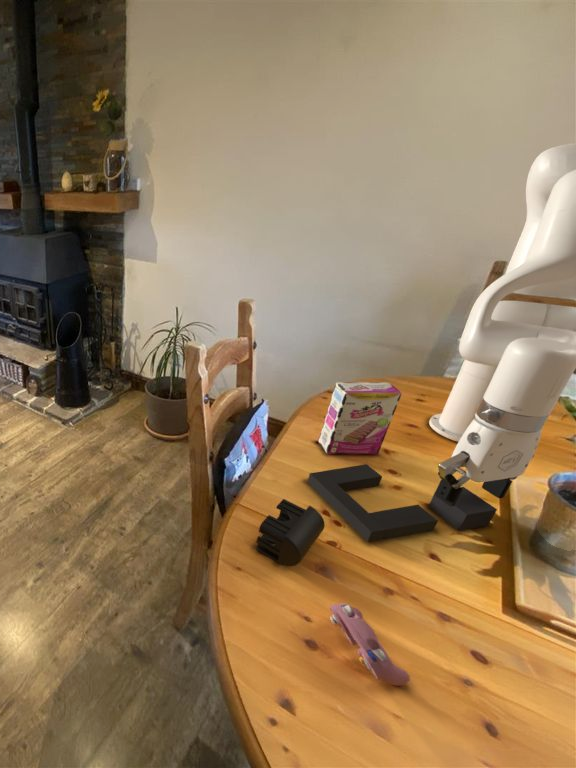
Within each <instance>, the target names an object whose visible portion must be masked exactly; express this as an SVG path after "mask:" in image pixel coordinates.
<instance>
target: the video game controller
mask: <svg viewBox="0 0 576 768" xmlns="http://www.w3.org/2000/svg"><path fill="white" fill-rule="evenodd" d="M328 607H329V610H330V612H331V614H332V616H331V615H330V617H329V619H330V621H331V623H332V625H334V626H335V627H336V626H337V625H338V626H339V627H340V628H341V630H342V632H343V634H344V635H345V637H346V638H347V640H348V641H349V643H350V644H351V645H352V646H355V645H357V646H358V647H359V648H358V650H357V654H358V656H359V658H358V660H359V662H360V663H361V664H362V665H365V667H366V668H367V669H368V670H370V672H371V673H372V674H373V675H374V677H375V678H376V679H377V680H381V681H383V682H384V683H387V684H389V685H392V686H398V687H399V686H405V685H406V684H408V683H409V681H410V679H411V678H410V675H409V673H408V672H407V671H406V670H404V669H403V668H401V667H398V666H397V665H396V664H395V663H394V662H393V661H392V659H391V657H390V656H389V654H388V653H387V651H386V650H385V648H384V647H383V645H382V644H381V643H380V641H379V639H378V637H377V634H376V632H375V630H374V629H373V628H372V626H371V625H369V624H368V623H367V622H366V621H365V620H364V619H363V618H364V617H363V616H364V615H363V613H362V611H361V610H360V609H358V608H356V607H354V606H351V605H350V604H348V603H346V602H345V603H344V602H342V603H341V602H340V603H337V604H336V603H335V604H331V605H330V606H328Z"/></svg>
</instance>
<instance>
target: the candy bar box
mask: <svg viewBox="0 0 576 768" xmlns="http://www.w3.org/2000/svg"><path fill="white" fill-rule="evenodd" d="M402 394H403V392H402V391H400V390H399V389H398V388H396V386H394V385H393V384H392V383H391V382H345V381H343V382H335V384H334V387H333V392H332V395H331V398H330V401H329V404H328V409H327V411H326V415H325V418H324V421H323V425H322V428H321V432H320V435H319V438H318V444H319V445H320V447H321V448H322V449H323V451H324V452H325V453H326V454H327V455H328V454H329V455H379V453H380V451H381V448H382V445H383V443H384V440H385V438H386V435H387V432H388V430H389V427H390V425H391V422H392V420H393V417H394V414H395V413H396V410H397V407H398V404H399V402H400V399H401V397H402Z"/></svg>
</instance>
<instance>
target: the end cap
mask: <svg viewBox="0 0 576 768" xmlns="http://www.w3.org/2000/svg"><path fill="white" fill-rule="evenodd" d="M276 509H277V510H279V515H278V517H277V518H275V517H274V516H272V515H270V514H268V515H267V516H266V517H265V518H264V520H263V521H262V522H261V523H260V525H259V530H258V533H260V534H262V535H261V536H260V535H258V536H257V538H256V548H255V549H256V551H257V552H259V553H260V554H262V555H264V556H265V557H267V558H268V559H270V560H272V561H274V562H275V563H277V564H279V565H283V566H287V567H293V566H297V565H299V563H301V562H302V560H303V559H304V558H305V556H306V555H307V553H308V552H309V550H310V549H311V548H312V546H313V545H314V543H315V542H316V541H317V539H319V536H320V535H321V534H322V532H323V531H324V529H325V527H326V526H325V520H324V518H323V516H322V515H321V513H320V512H319V511H318V510H317V509H316V508H314V507H312V506H311V505H308V507H307V508H306V509H305V508H303V507H301V506H299V505H297V504H295V503H293V502H291V501H289V500H287V499H285V498H282V500H280V502H279V503H278V504H277V505H276Z"/></svg>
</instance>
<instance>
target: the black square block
mask: <svg viewBox="0 0 576 768" xmlns="http://www.w3.org/2000/svg"><path fill="white" fill-rule="evenodd" d="M461 488H462V489H463V490H462V492H461V494H460V496H459V498H458V500H457V502H456V504H455V505H454V506H449V505H447V504H446V503H445V502H443V501H442V500H441V499H439V498H438V497H436V496H435V492H436V490H435V491H434V493H433V495H432V498H431V499H430V502H429V504H428V506H427V509H430V510H431V511H432V512H433V513H435V514H436V515H437V516H438V517H440V518H441V519H442V520H444V521H445V522H446V523H448V525H450V526H452V527H453V528H454V529H455V530H457V531H459V532H461V531H466V530H473V529H477V528H483V527H488V526H489V524H490V523H491V521H492V519H493V517H494V516H495V514H496V512H497V511H498V509H497V508H496V507H495V506H493V505H492V504H491V503H489V502H487V501H485V500H484V499H483V498H481V497H480V496H478V495H477V494H475V493H474V492H473V491H471V490H469V489H468V488H466V487H465V486H461Z"/></svg>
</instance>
